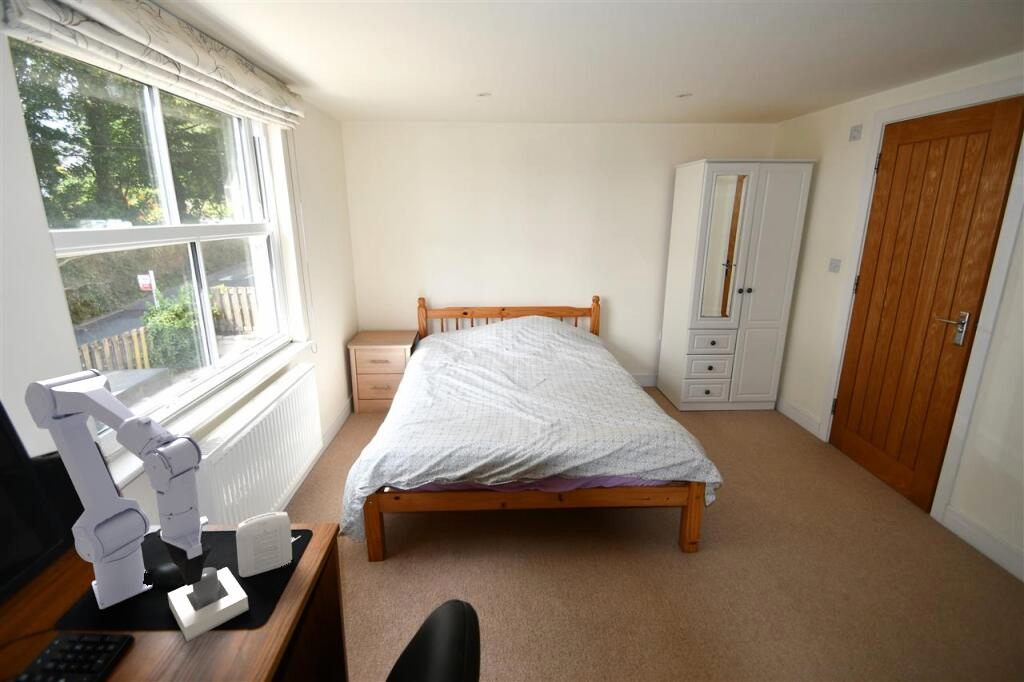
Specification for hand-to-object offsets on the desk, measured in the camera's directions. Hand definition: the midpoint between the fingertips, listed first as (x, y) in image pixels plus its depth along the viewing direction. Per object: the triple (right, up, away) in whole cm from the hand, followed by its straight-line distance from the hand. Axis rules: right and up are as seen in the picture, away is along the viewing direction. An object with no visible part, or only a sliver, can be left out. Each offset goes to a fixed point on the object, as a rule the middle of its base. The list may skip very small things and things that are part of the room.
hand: (186, 571), depth 84 cm
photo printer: (+7, -7, +15) cm, 18 cm away
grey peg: (+2, -8, +4) cm, 9 cm away
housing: (+2, -9, +4) cm, 10 cm away
